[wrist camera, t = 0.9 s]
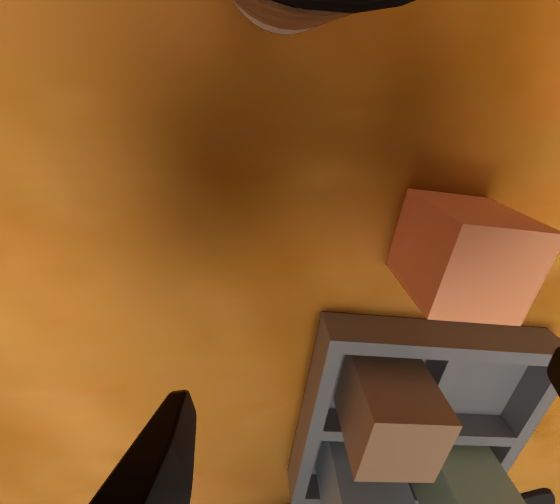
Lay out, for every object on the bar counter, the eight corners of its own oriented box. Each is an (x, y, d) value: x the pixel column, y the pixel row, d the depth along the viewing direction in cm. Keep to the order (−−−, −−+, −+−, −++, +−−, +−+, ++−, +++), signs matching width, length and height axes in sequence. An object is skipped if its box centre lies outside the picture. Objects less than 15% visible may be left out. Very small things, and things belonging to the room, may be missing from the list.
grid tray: (465, 473, 32) (516, 566, 26) (287, 469, 30) (295, 568, 24) (546, 327, 25) (644, 407, 19) (321, 311, 23) (345, 393, 17)
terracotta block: (457, 269, 23) (520, 326, 17) (385, 263, 22) (427, 319, 17) (486, 197, 21) (567, 235, 15) (407, 188, 20) (463, 223, 15)
